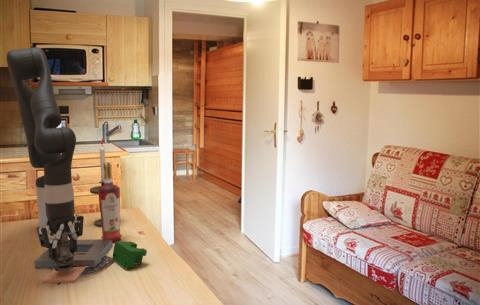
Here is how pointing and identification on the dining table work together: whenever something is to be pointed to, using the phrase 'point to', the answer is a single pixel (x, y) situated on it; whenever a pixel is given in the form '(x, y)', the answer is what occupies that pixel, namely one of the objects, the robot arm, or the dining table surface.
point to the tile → (64, 275)
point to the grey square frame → (91, 258)
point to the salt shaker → (64, 254)
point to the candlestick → (95, 189)
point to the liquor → (109, 206)
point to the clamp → (128, 254)
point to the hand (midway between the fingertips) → (63, 255)
